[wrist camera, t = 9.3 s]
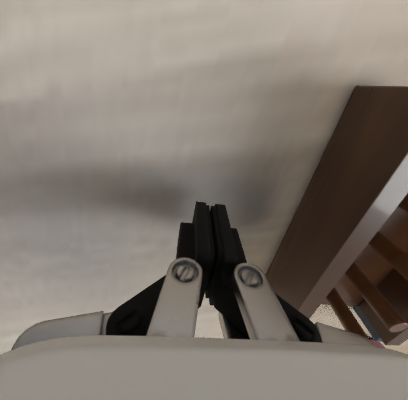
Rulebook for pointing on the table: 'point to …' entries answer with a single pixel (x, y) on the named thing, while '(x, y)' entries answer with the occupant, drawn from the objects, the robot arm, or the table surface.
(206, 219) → the robot arm
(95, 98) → the table surface
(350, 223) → the rack
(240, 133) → the table surface
